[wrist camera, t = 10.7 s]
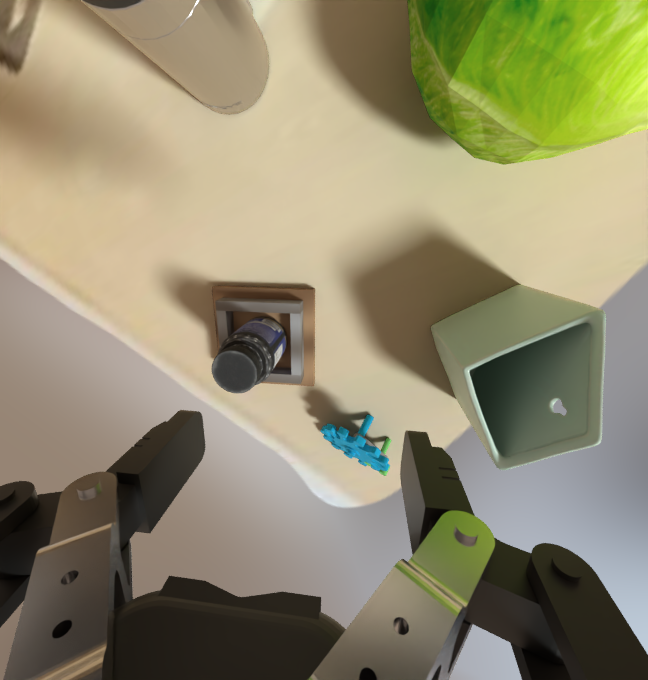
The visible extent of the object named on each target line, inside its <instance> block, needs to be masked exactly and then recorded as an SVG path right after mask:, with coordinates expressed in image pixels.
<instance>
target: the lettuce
mask: <svg viewBox="0 0 648 680" xmlns="http://www.w3.org/2000/svg"><path fill="white" fill-rule="evenodd" d="M407 3H408V14H409V26H410V46H411V66H412V72H413V75H414V78H415V80H416V83H417V85H418V88H419V91H420V93H421V96H422V99H423V101H424V104H425V106H426V109H427V112H428V114H429V117H430V118H431V119H432V120H433V121H434V122H435V123H436V124H437V125H438V126H439V127H440V128H441V129H442V130H443V131H444V132H445V133H446V134H448V135H449V136H450V137H451V138H452V139H453V140H454V141H455V142H457V143H458V144H459V145H460V146H461V147H462V148H464V149H465V150H466V151H467V152H468V153H469V154H471V155H472V156H473V157H474V158H478V159H482V160H487V161H491V162H495V163H499V164H511V163H518V162H524V161H531V160H538V159H545V158H551V157H555V156H558V155H562V154H565V153H569V152H572V151H576V150H579V149H583V148H586V147H589V146H593V145H596V144H599V143H602V142H605V141H608V140H611V139H614V138H617V137H620V136H623V135H626V134H630V133H634V132H638V131H642V130H646V129H648V0H408V1H407Z"/></svg>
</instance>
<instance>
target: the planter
mask: <svg viewBox="0 0 648 680" xmlns="http://www.w3.org/2000/svg"><path fill="white" fill-rule="evenodd" d="M605 327H606V315H605V312H604V311H603V310H601V309H598V308H595V307H593V306H590V305H587V304H583V303H580V302H577V301H573V300H570V299H567V298H563V297H560V296H557V295H554V294H550V293H547V292H544V291H540V290H537V289H534V288H530V287H527V286H524V285H516V286H513V287H511V288H509V289H507V290H505V291H503V292H501V293H498V294H496V295H494V296H492V297H490V298H488V299H486V300H483V301H481V302H479V303H477V304H475V305H472V306H470V307H468V308H466V309H464V310H461V311H459V312H457V313H455V314H453V315H451V316H449V317H447V318H445V319H443V320H441V321H439V322H437V323H435V324H433V325H432V326H431V331H432V335H433V339H434V342H435V346H436V349H437V351H438V354H439V356H440V359H441V361H442V364H443V366H444V369H445V371H446V373H447V376H448V378H449V381H450V384H451V387H452V389H453V392H454V395H455V397H456V399H457V401H458V403H459V404H460V406H461V408H462V409H463V411H464V413H465V414H466V416H467V418H468V420H469V421H470V423H471V425H472V426H473V428H474V430H475V432H476V433H477V435H478V437H479V438H480V440H481V442H482V443H483V445H484V447H485V449H486V450H487V452H488V454H489V455H490V457H491V458H492V460H493V461H494V463H495V465H496V466H497V468H499V469H501V470H508V469H511V468H515V467H518V466H522V465H526V464H530V463H534V462H537V461H541V460H543V459H547V458H550V457H554V456H557V455H561V454H565V453H569V452H572V451H577V450H581V449H585V448H589V447H593V446H596V445H598V444H600V442H601V439H602V404H603V380H604V359H605ZM559 399H560V400H561V401H562V404H563V407H564V408H565V409H566V410H567V414H566V415H565V416H563V415H562V414H560V413H554V412H553V405H554V403H555V402H556V401H557V400H559Z"/></svg>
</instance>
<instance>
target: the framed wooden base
mask: <svg viewBox="0 0 648 680" xmlns="http://www.w3.org/2000/svg"><path fill="white" fill-rule="evenodd" d="M212 293H213V303H214V313H215V324H216V334H217V344H218V352H219V348H220V346H221V344H222V343H223V342H224V340H225V339H227V338H228V337H229V336H230V335H232V334H233V333H234V332H235V331H237V330H238V329H239V328H240V327H242V326H243V325H244V324H246V323H247V322H248V321H249V320H251V319H253V318H255V317H261V316H263V317H269V318H272V319H274V320H276V321H277V322H278V323H280V324H281V326H282V327H283V328H284V330H285V333H286V336H287V347H286V349H285V351H284V353H283V354H282V356H281V358H280V359H279V361H278V362H277V364H276V365H275V367H274V369H273V370H272V372H271V373H270V375H269V376H268V377H267V379H266V380H264V381H263V382H261V383H270V384H286V385H303V386H314V382H315V289H308V288H275V287H243V286H214V287H212Z"/></svg>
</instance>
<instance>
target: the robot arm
mask: <svg viewBox="0 0 648 680" xmlns="http://www.w3.org/2000/svg"><path fill="white" fill-rule="evenodd" d="M80 1H82V2H83V3H84V4H85V5H86V6H87V7H89V8H90V9H91V10H92V11H93V12H95V13H96V14H97V15H98V16H99V17H101V18H102V19H103V20H104V21H105V22H107V23H108V24H109V25H110V26H112V27H113V28H114V29H115V30H116V31H117V32H119V33H120V34H121V35H122V36H123V37H125V38H126V39H127V40H128V41H129V42H130V43H132V44H133V45H134V46H135V47H136V48H138V49H139V50H140V51H141V52H142V53H144V54H145V55H146V56H147V57H148V58H149V59H151V60H152V61H153V62H154V63H155V64H157V65H158V66H159V67H160V68H161V69H163V70H164V71H165V72H166V73H167V74H168V75H170V76H171V77H172V78H173V79H174V80H176V81H177V82H178V83H179V84H180V85H181V86H183V87H184V88H185V89H186V90H187V91H189V92H190V93H191V94H192V95H193V96H194V97H196V98H197V99H198V100H199V101H200V102H202V103H203V104H204V105H205V106H207V107H208V108H210V109H211V110H213V111H215V112H218V113H221V114H236V113H240V112H242V111H244V110H247V109H248V108H249V107H250V106H252V105H253V104H254V103H255V102H256V101H257V99H258V98H259V97H260V95H261V93H262V91H263V90H264V87H265V84H266V81H267V78H268V70H269V56H268V51H267V46H266V43H265V40H264V38H263V35H262V33H261V31H260V29H259V27H258V25H257V23H256V21H255V19H254V17H253V9H252V7H251V4H250V2H249V0H80ZM204 452H205V439H204V429H203V419H202V415H201V413H200V412H197V411H186V410H180V411H178V412H177V413H176V414H175V415H174V416H173V417H172V418H171V419H170V420H169V421H168V422H163V423H161V424H159V425H158V426H156V427H154V428H152V429H151V430H150V431H149V432H148V433H147V434H146V435H144V436H143V437H142V439H140V440H139V441H138V442H137V443H136V444H135V446H134V447H131V449H129V450H128V451H127V452H126V453H125V454H124V455H123V456H122V457H121V458H120V459H119V460H118V461H116V462H115V463H114V464H113V465H112V466H111V467H110V468H109V469H108V470H107V471H106V472H96V473H92V474H88V475H86V476H83V477H81V478H79V479H77V480H76V481H74V482H72V483H71V484H70V485H69V486H67V487H66V488H65V490H64V491H62V492H55V493H47V494H40V495H37V493H36V490H35V487H34V485H33V484H32V483H30V482H27V481H19V482H13V483H9V484H5V485H3V486H0V627H1V626H2V625H3V624H4V623H5V622H6V620H7V619H8V618H9V617H10V616H11V614H12V613H13V612H14V611H15V610H16V609H17V607H18V606H19V605H20V604H21V603H22V602H23V601H24V603H23V607H22V611H21V614H20V618H19V622H18V626H17V630H16V633H15V638H14V641H13V645H12V649H11V653H10V657H9V661H8V664H7V668H6V672H5V676H4V680H449V677H450V675H451V673H452V671H453V668H454V666H455V664H456V662H457V659H458V657H459V655H460V652H461V650H462V648H463V646H464V643H465V641H466V639H467V636H468V634H469V632H470V630H471V627H472V625H473V624H474V625H476V626H478V627H480V628H482V629H484V630H486V631H488V632H490V633H493V634H494V635H496V636H499V637H500V638H502V639H505V640H506V641H509V642H510V643H511V646H512V649H513V652H514V655H515V658H516V661H517V665H518V668H519V671H520V674H521V677H522V680H648V655H647V653H646V651H645V650H644V648H643V647H642V645H641V644H640V642H639V640H638V639H637V637H636V636H635V634H634V633H633V631H632V629H631V628H630V626H629V624H628V623H627V621H626V620H625V618H624V617H623V615H622V613H621V612H620V610H619V609H618V607H617V606H616V604H615V602H614V601H613V599H612V598H611V596H610V594H609V593H608V591H607V590H606V588H605V587H604V585H603V584H602V582H601V580H600V579H599V577H598V576H597V574H596V573H595V572H594V570H593V569H592V568H591V567H590V566H589V565H588V564H587V563H586V562H585V561H584V560H583V559H582V558H580V557H579V556H578V555H576V554H574V553H573V552H571V551H569V550H568V549H565V548H563V547H561V546H558V545H554V544H548V543H542V544H539V545H536V546H535V547H534V548H533V550H532V553H528V552H526V551H523V550H520V549H518V548H515V547H512V546H510V545H507V544H505V543H503V542H500V541H499V540H497V539H496V538H494V536H493V534H492V532H491V530H490V529H489V528H488V527H487V525H486V524H485V523H484V522H482V521H481V520H480V519H478V518H477V517H475V515H474V513H473V511H472V508H471V506H470V503H469V501H468V498H467V496H466V493H465V491H464V488H463V486H462V483H461V481H460V480H459V476H458V473H457V471H456V468H455V466H454V464H453V461H452V458H451V457H450V456H449V455H448V454H447V453H446V452H445V451H444V450H443V449H442V448H439V447H432V446H431V443H430V440H429V437H428V434H427V433H426V432H417V431H406V432H405V437H404V444H403V452H402V460H401V471H400V475H401V486H402V492H403V498H404V504H405V510H406V517H407V523H408V529H409V535H410V541H411V548H412V554H413V556H412V557H411V559H410V560H409V561H408V562H407V561H405V560H404V559H401V560H400V561H398V563H397V564H396V565H395V566H394V567H393V569H392V570H391V571H390V572H389V574H388V575H387V576H386V578H385V579H384V580H383V582H382V583H381V584H380V586H379V587H378V588H377V590H376V591H375V592H374V594H373V595H372V596H371V598H370V599H369V600H368V601H367V603H366V604H365V605H364V607H363V608H362V609H361V611H360V612H359V613H358V615H357V616H356V617H355V619H354V620H353V621H352V623H351V624H350V625H349V627H348V628H347V629H345V628H344V627H342V626H341V625H340V624H339V623H338V622H337V621H335V620H334V619H332V618H331V617H329V616H327V615H325V614H323V613H321V597H316V596H308V595H302V594H295V593H287V592H278V593H270V594H264V595H256V596H249V597H237V596H235V595H233V594H231V593H229V592H227V591H225V590H223V589H220V588H218V587H217V586H214V585H212V584H210V583H208V582H206V581H202V580H195V579H188V578H181V577H174V576H169V577H168V579H167V581H166V582H165V584H164V586H163V588H162V589H161V590H160V591H155V592H151V593H148V594H145V595H143V596H140V597H137V598H135V599H133V589H132V555H131V542H130V538H131V537H132V535H133V534H134V533H135V532H144V533H151V531H152V530H153V528H154V527H155V526H156V524H157V523H158V521H159V520H160V518H161V517H162V515H163V514H164V513H165V511H166V510H167V508H168V507H169V505H170V504H171V503H172V501H173V500H174V498H175V497H176V496H177V494H178V493H179V491H180V490H181V489H182V487H183V486H184V484H185V483H186V482H187V480H188V479H189V477H190V476H191V474H192V473H193V472H194V470H195V469H196V467H197V466H198V464H199V463H200V462H201V460H202V458H203V455H204Z"/></svg>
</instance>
